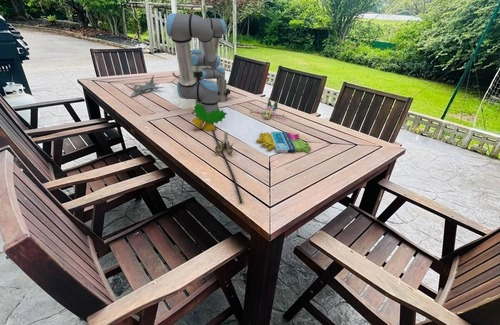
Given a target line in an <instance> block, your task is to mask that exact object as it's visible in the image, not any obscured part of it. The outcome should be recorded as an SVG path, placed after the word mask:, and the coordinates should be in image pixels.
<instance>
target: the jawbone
mask: <svg viewBox="0 0 500 325" xmlns="http://www.w3.org/2000/svg"><path fill="white" fill-rule="evenodd" d="M223 135H224V136H223V140H222V139H221V142H220V143H219V145H218V144H217V142H216V141H215V144H216V146H215V148H214V149H215V152H214V154H215V155H217V156H218V155H220V153H222V152H221V151H223V152H224V150H226V152H227V153H228V155H229V156H233V155H234V154H233V153H234V148H233V144H234V143H230V140H228V139H229V138H228V137H229V136H228V135H229V133H228V131H226V132H224V134H223Z"/></svg>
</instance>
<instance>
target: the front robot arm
mask: <svg viewBox="0 0 500 325" xmlns="http://www.w3.org/2000/svg"><path fill="white" fill-rule="evenodd" d="M204 19H205V18H203V17H202V16H200V15H197V14H189V13H178V12H174V13H168V15H167V18H166V23H165V29H166V35H167V36H168V37H171V38H170V39H171V41H172V42H173V43H174V46H175V51H176V58H177V64H178V69H179V77H181V78H178V81H177V82H176V91H177V94H178V96H179V98H181V99H184V100H195V101H196V100H198V102H201V103H200V104H201V106H204V109H206V112H208V113H211V112H212V110H214V111H216V110H217V109H219V111H221V110H220V108H219V101H218V86H217V84H216V83H217V82H216V81H213V80H210V79H203V80H201V79H200V77H202V76H203V72H202V68H203V67H202V66H212V67H221V56H220V55H216V53H215V48H214V44H213V39H212V38H213V31H212V29H211V27H210V25H209V24H208V23H207V21H206V20H204ZM193 38H195V39H197V40H198V41H199V43H200V42H201V45H202V48H203V51H204V54H205V55H202V50H201V49H199V48H193V49H191V42H192V39H193ZM208 113H207V115H208ZM211 132H212V134H213V137H214V139H215V143H216V142H217V144H218V145H220V143H219V141H218V138H217V136H216V133H215V130H212V131H211ZM217 144H216V145H217ZM220 153H221V155H222V157H223V159H224V161H225V164H226V165H227V167H228V170H229V172H230V174H231V177H232V180H233V184H234V185H235V189H236V192H237V195H238V198H239V203H240V204H243V200H242V196H241V193H240V189H239V187H238V183H237V180H236V177H235V175H234V173H233V171H232V168H231V166H230V164H229V161H228V160H227V158H226V155H225V154H224V150H223V151H221V152H220Z"/></svg>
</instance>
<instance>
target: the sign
mask: <svg viewBox="0 0 500 325" xmlns="http://www.w3.org/2000/svg"><path fill="white" fill-rule="evenodd" d="M299 136H300V135H299V134H298V133H296V134H294V133H291V132H287V131H270V132H264V133H263V132H260V133H259V139H258V138H257V139H256V143H257V144H261V148H263V147H264V148H265V149H267V151H268V152H271V151H272V150H273V149H275V152H276V153H283V154H285V153H287V154H288V153H290V154H293V153H296V152H298V153H301V152H305V153H310V151H311V150H312V149H311V148H312V146H309V142H304V141H303V139H302V138H299Z"/></svg>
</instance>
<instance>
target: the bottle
mask: <svg viewBox="0 0 500 325" xmlns="http://www.w3.org/2000/svg"><path fill="white" fill-rule="evenodd" d="M216 83H217V86H218V103H225V102H227V96H226V89H227V79H226V78H225V79H224V75H220V79H218V82H217V81H216Z"/></svg>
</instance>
